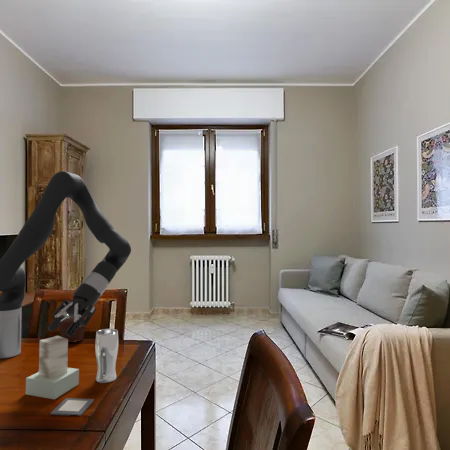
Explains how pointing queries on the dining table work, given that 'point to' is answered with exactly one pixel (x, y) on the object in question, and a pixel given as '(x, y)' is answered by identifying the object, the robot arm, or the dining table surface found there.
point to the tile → (72, 407)
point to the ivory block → (53, 357)
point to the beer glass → (106, 354)
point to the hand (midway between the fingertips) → (58, 332)
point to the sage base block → (52, 384)
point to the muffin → (65, 325)
